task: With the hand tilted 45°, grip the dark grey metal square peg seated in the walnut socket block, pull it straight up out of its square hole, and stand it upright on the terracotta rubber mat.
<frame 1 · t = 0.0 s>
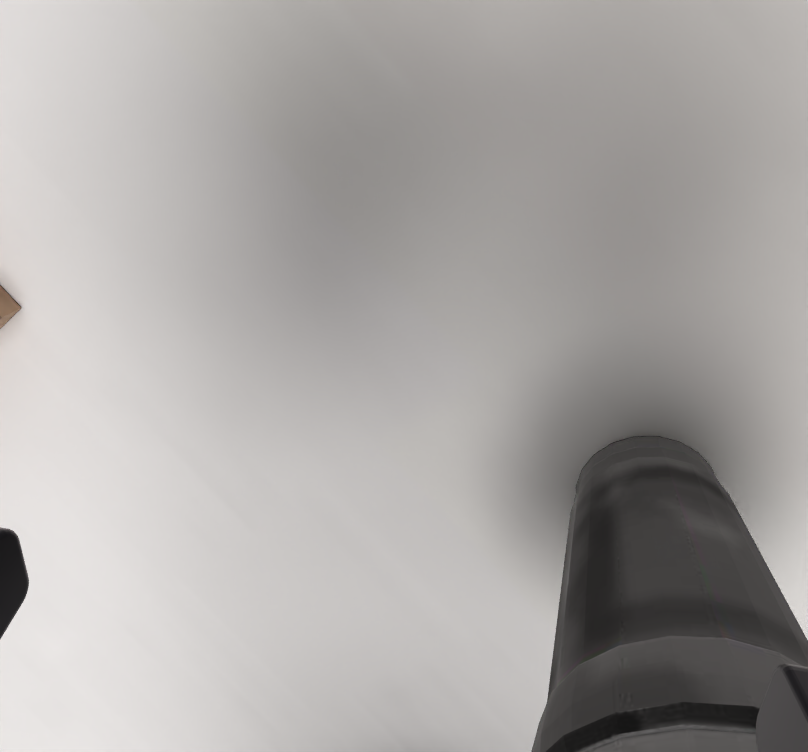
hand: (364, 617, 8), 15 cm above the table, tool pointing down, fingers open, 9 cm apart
beverage cup: (644, 491, 24), on the table
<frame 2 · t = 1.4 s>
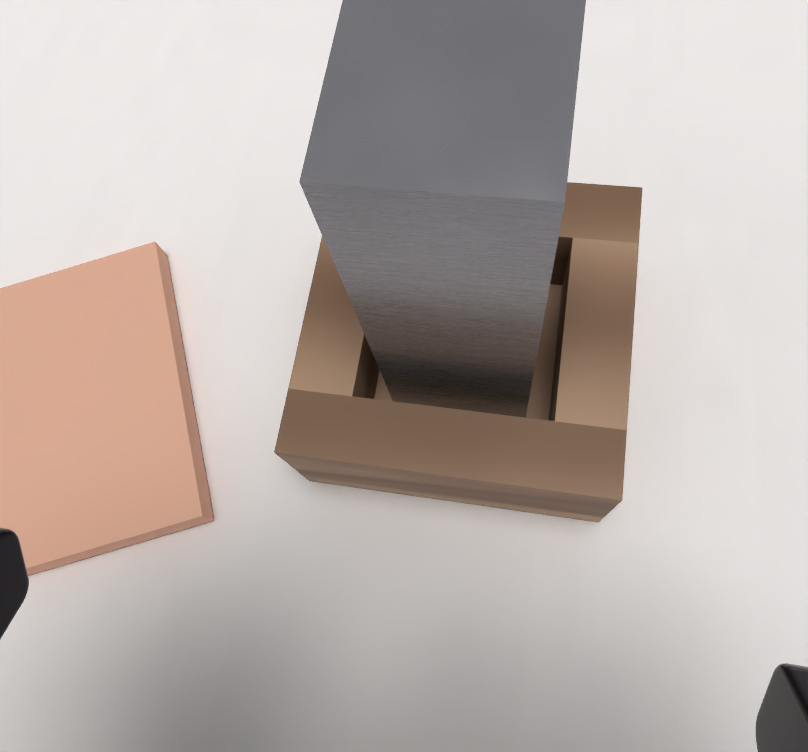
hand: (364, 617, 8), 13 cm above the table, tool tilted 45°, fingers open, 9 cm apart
socket block: (468, 364, 23), on the table
mat: (49, 420, 24), on the table
peg: (467, 354, 22), point 1 cm above the table, touching socket block
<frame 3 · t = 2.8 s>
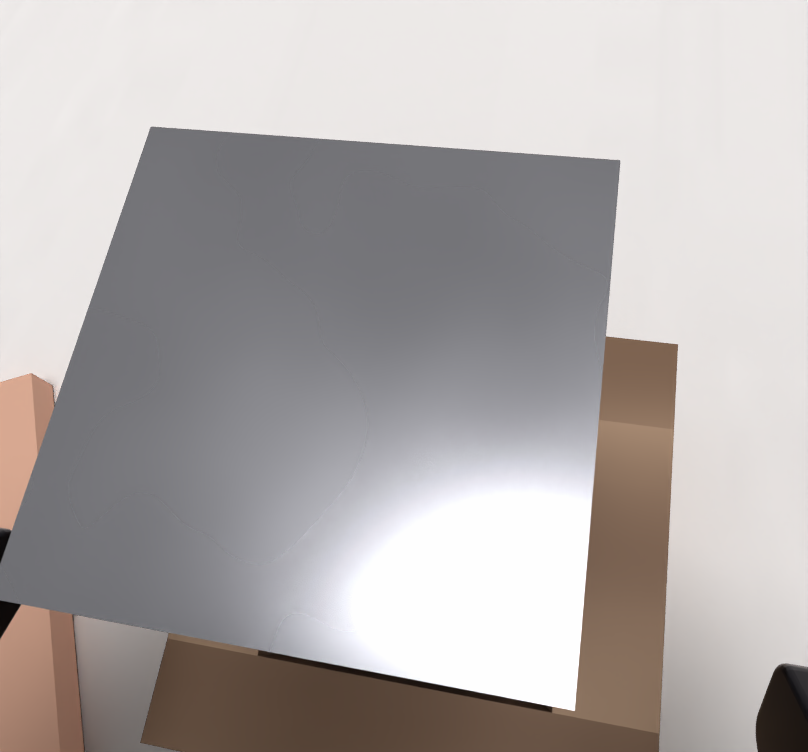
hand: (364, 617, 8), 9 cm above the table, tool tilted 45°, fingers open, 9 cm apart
socket block: (437, 555, 17), on the table
peg: (434, 550, 16), point 1 cm above the table, touching socket block
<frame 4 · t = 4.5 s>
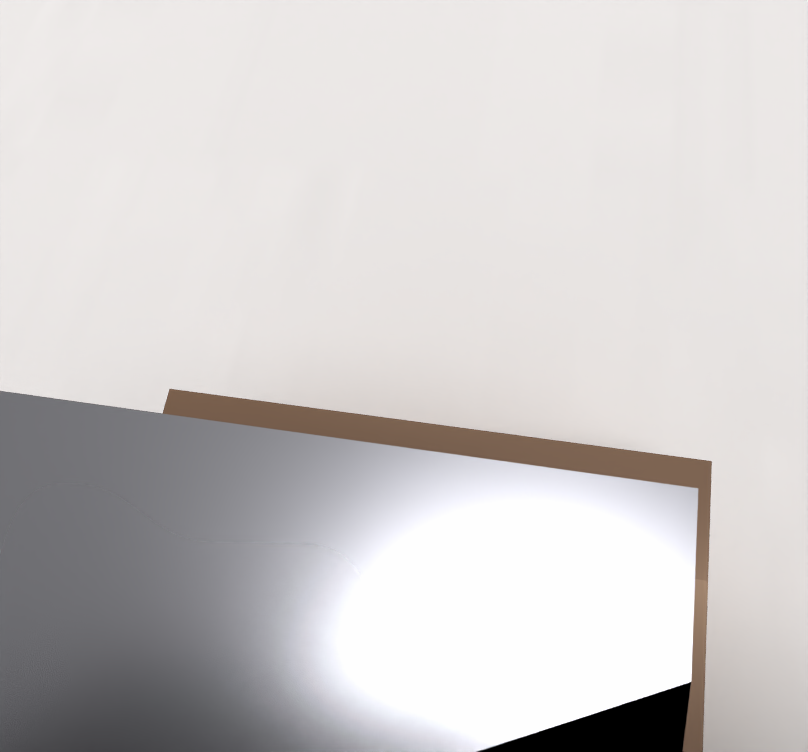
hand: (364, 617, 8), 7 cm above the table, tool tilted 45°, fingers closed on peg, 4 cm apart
socket block: (405, 696, 14), on the table
peg: (399, 701, 13), point 1 cm above the table, touching gripper, socket block
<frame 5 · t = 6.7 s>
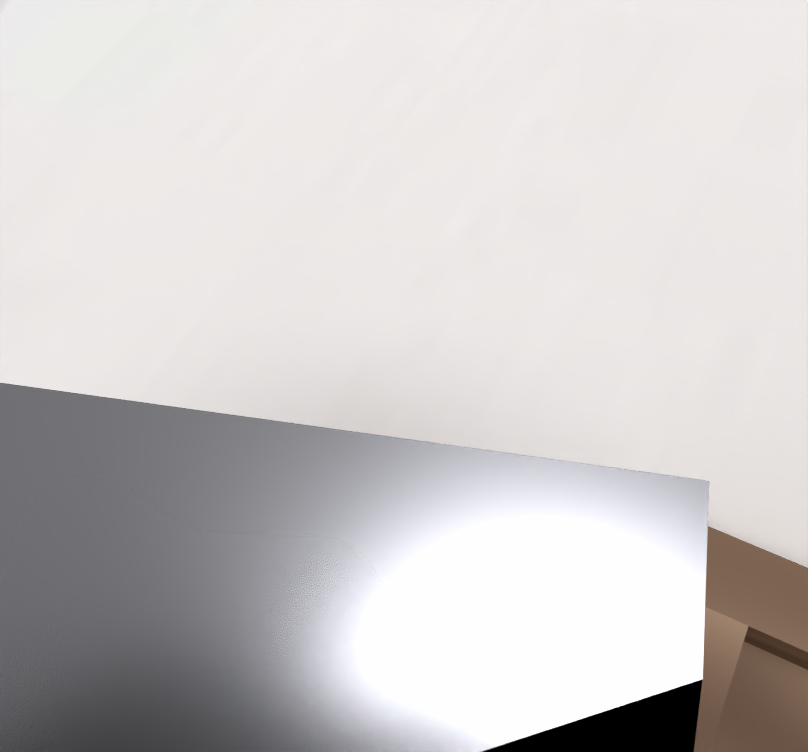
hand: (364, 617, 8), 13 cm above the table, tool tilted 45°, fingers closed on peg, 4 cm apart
peg: (401, 699, 13), point 8 cm above the table, touching gripper
when the fingers open (8 cm above the table, at t = 9.1 s): peg drops 1 cm, resting on mat.
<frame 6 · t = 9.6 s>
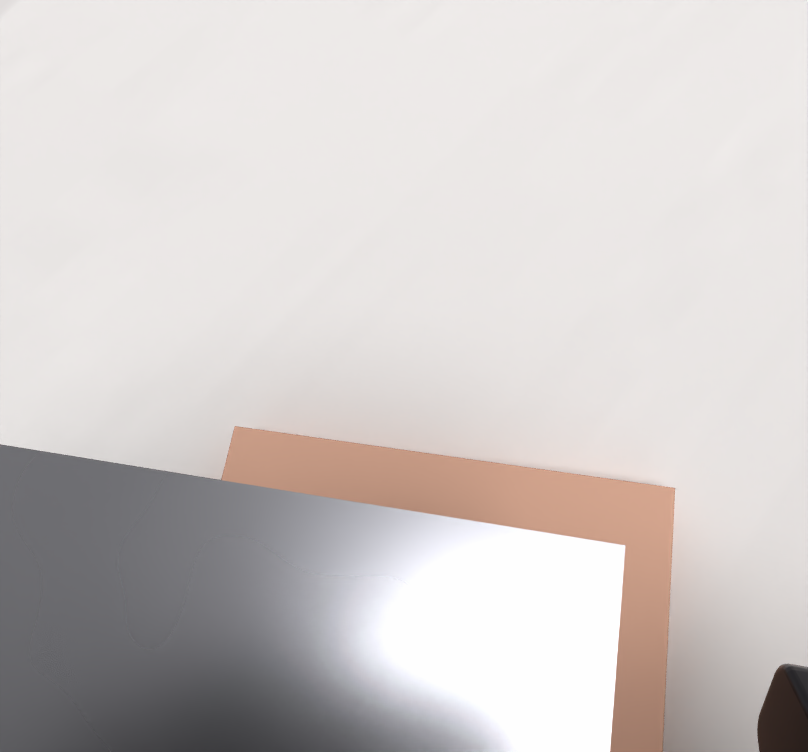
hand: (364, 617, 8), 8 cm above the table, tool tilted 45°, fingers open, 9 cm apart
mat: (412, 690, 15), on the table
peg: (409, 693, 14), point 1 cm above the table, touching mat
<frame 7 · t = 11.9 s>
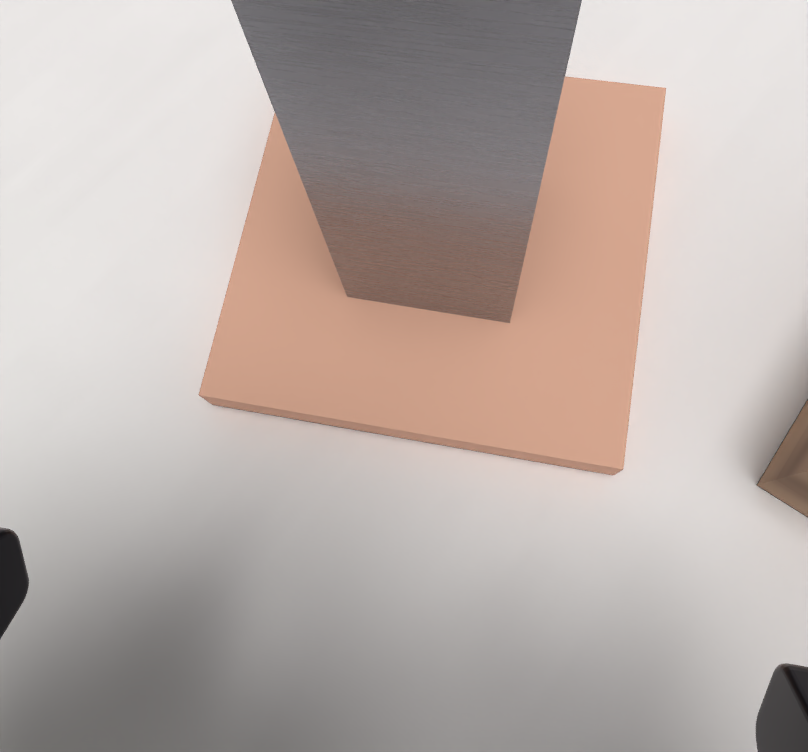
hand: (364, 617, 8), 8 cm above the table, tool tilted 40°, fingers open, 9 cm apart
mat: (441, 253, 19), on the table
peg: (442, 235, 18), point 1 cm above the table, touching mat
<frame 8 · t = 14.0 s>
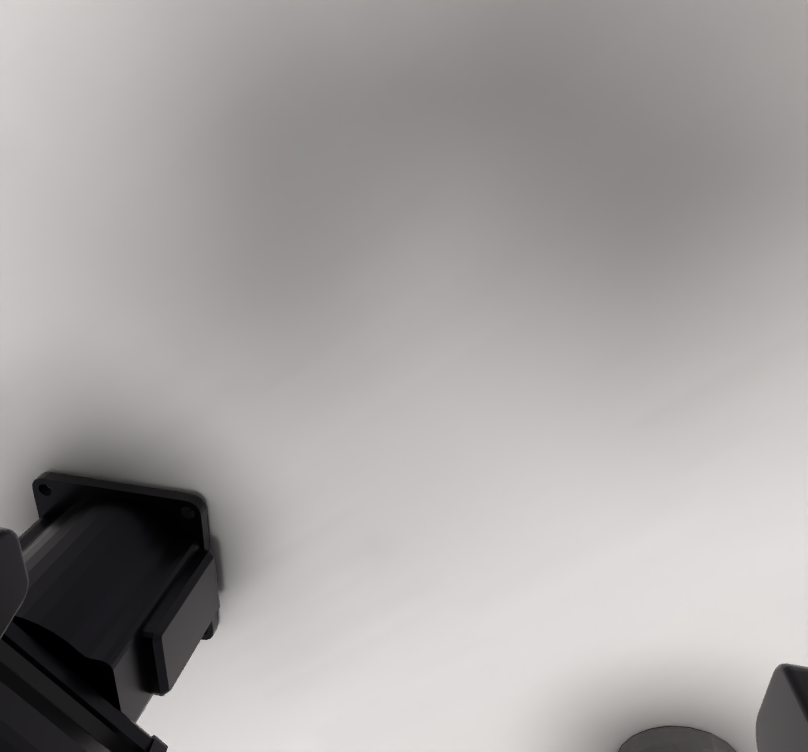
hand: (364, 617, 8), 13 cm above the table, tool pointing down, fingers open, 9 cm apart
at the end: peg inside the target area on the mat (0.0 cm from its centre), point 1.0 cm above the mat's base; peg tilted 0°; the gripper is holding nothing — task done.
